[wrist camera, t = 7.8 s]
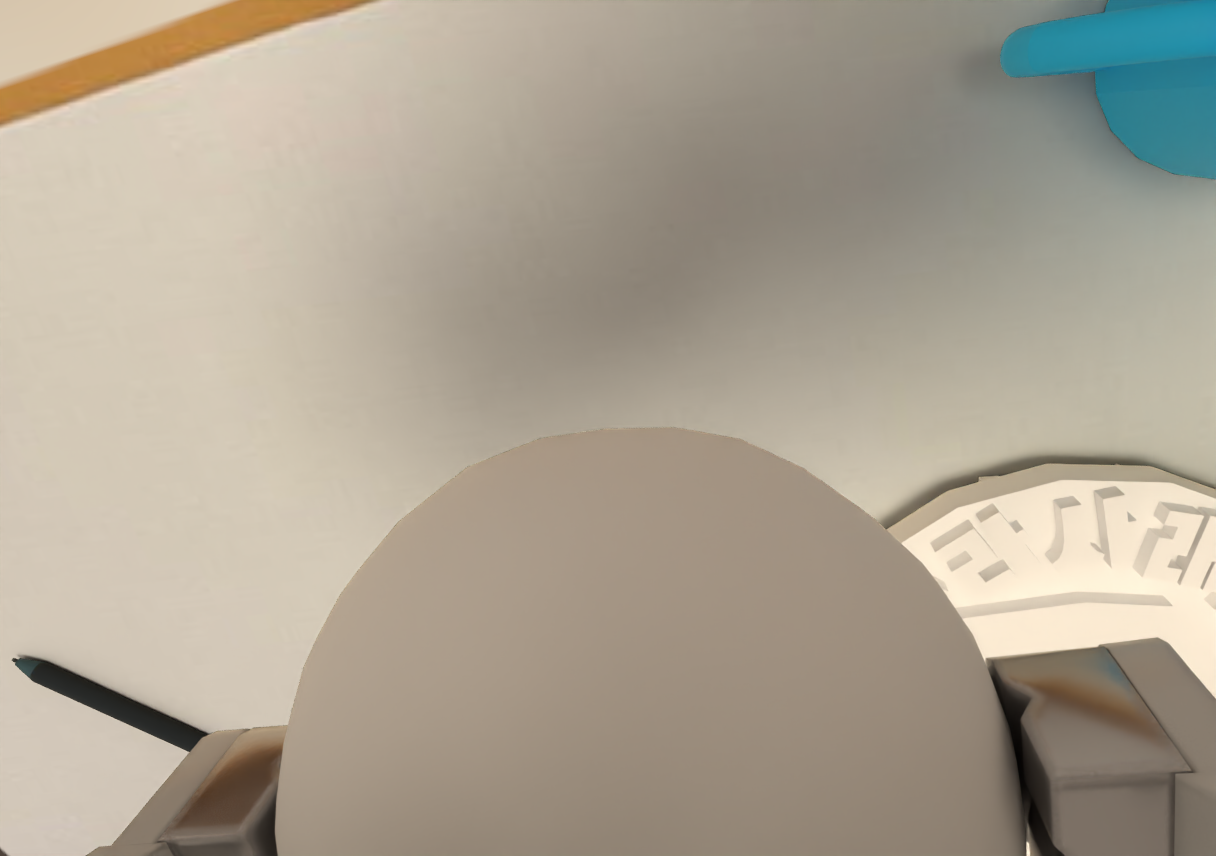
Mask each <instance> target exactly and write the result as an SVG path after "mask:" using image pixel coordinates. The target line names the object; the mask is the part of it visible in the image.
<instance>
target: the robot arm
mask: <svg viewBox="0 0 1216 856" xmlns="http://www.w3.org/2000/svg"><path fill="white" fill-rule="evenodd" d="M985 663H986V666H987V669H988V671H989V674H990V677H991V679H992V682H993V684H994V687H995V690H996V692H997V695H998V698H999V700H1000V703H1001V706H1002V708H1003V711H1004V714H1005V716H1006V719H1007V722H1008V724H1009V727H1010V731H1011V736H1012V741H1013V746H1014V750H1015V755H1016V760H1017V766H1018V774H1019V781H1020V788H1021V795H1022V802H1023V809H1024V816H1025V823H1026V839H1027V842H1028V843H1029V849H1030V856H1216V699H1215V697H1214V696H1213V695H1212V694H1211V693H1210V691H1209V690H1208V689H1207V688H1206V687H1205V686H1204V684H1203V683H1202V682H1201V681H1200V680H1199V678H1198V677H1197V676H1196V675H1195V674H1194V672H1193V671H1192V670H1191V669H1190V668H1189V666H1188V665H1187V664H1186V663H1185V662H1184V660H1183V659H1182V658H1181V657H1180V656H1179V654H1178V653H1177V652H1176V651H1175V650H1174V649H1173V647H1172V646H1171V645H1170V644H1169V643H1168V642H1166V641H1164V640H1162V639H1160V638H1158V637H1155V638H1147V639H1139V640H1131V641H1122V642H1114V643H1106V644H1099V645H1098V647H1085V648H1075V649H1065V650H1056V651H1046V652H1036V653H1027V654H1017V655H1007V656H998V657H988V658H986V659H985ZM287 728H288V725H283V726H269V727H255V728H252V729H237V730H224V731H216V732H214V733H212V734H209V735H207V736H205V737H203V738H201V739H200V741H199V742H198V743H197V744H196V745H195V747H194V748H193V749H192V750H191V751H190V753H189V754H188V755H187V756H186V757H185V759H184V760H183V761H182V762H181V763H180V765H179V766H178V767H177V768H176V769H175V770H174V772H173V773H172V774H171V775H170V776H169V778H168V779H167V780H166V781H165V782H164V784H163V785H162V786H161V787H160V788H159V790H158V791H157V792H156V793H155V794H154V796H153V797H152V798H151V799H150V800H149V801H148V803H147V804H146V805H145V806H144V807H143V809H142V810H141V811H140V812H139V813H138V815H137V816H136V817H135V818H134V819H133V821H132V822H131V823H130V824H129V825H128V827H127V828H126V829H125V830H124V831H123V832H122V834H121V835H120V836H119V837H118V838H117V840H116V841H115V842H114V843H113V844H112V846H103V847H98V848H97V849H95V850H94V851H92V852H91V853H89V854H88V855H86V856H278V853H277V846H276V838H275V818H276V798H277V790H278V782H279V775H280V767H281V759H282V751H283V744H284V740H285V736H286V732H287Z"/></svg>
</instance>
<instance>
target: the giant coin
mask: <svg viewBox="0 0 1216 856" xmlns="http://www.w3.org/2000/svg"><path fill="white" fill-rule="evenodd" d="M886 530H887V531H888V532H889V533H890V534H892V535H893V536H894V537H895V538H896V539H897V540H898V541H899V542H900V543H901V544H902V545H903V546H904V547H906V548H907V549H908V550H909V551H910V552H911V553H912V554H913V555H914V556H915V557H916V558H917V559H919V560H920V561H921V562H922V563H923V564H924V566H925V567H926V568H927V570H928V571H929V572H930V573H931V575H932V576H933V577H934V578H935V580H936V581H937V582H938V584H939V585H940V587H941V588H942V590H943V591H944V592H945V594H946V595H947V597H948V598H949V600H950V601H951V603H952V604H953V606H954V607H955V609H956V610H957V612H958V613H959V615H960V616H961V617H962V619H963V620H964V622H965V623H966V625H967V626H968V628H969V629H970V631H971V632H972V634H973V636H974V638H975V640H976V643H977V645H978V647H979V649H980V652H981V654H982V656H983V658H984V661H985V659H986V658H988V657H998V656H1007V655H1017V654H1027V653H1036V652H1046V651H1056V650H1065V649H1075V648H1085V647H1098V645H1099V644H1106V643H1114V642H1122V641H1131V640H1139V639H1147V638H1155V637H1158V638H1160V639H1162V640H1164V641H1166V642H1168V643H1169V644H1170V645H1171V646H1172V647H1173V649H1174V650H1175V651H1176V652H1177V653H1178V654H1179V656H1180V657H1181V658H1182V659H1183V660H1184V662H1185V663H1186V664H1187V665H1188V666H1189V668H1190V669H1191V670H1192V671H1193V672H1194V674H1195V675H1196V676H1197V677H1198V678H1199V680H1200V681H1201V682H1202V683H1203V684H1204V686H1205V687H1206V688H1207V689H1208V690H1209V691H1210V693H1211V694H1212V695H1213V696H1214V697H1215V699H1216V489H1213V488H1210V487H1207V486H1205V485H1202V484H1199V483H1196V482H1193V481H1191V480H1188V479H1185V478H1182V477H1180V476H1177V475H1174V474H1171V473H1168V472H1166V471H1163V470H1160V469H1157V468H1154V467H1152V466H1125V465H1118V464H1115V465H1084V464H1043V465H1039V466H1036V467H1032V468H1028V469H1025V470H1021V471H1018V472H1014V473H1010V474H1007V475H1003V476H999V477H998V476H985V477H978V482H977V483H974V484H970V485H967V486H963V487H959V488H956V489H952V490H948V491H946V492H945V493H943V494H942V495H940V496H938V497H937V498H935V499H934V500H932V501H931V502H929V503H927V504H926V505H924V506H923V507H921V508H920V509H918V510H916V511H915V512H913V513H912V514H910V515H909V516H907V517H905V518H904V519H902V520H901V521H899V522H898V523H896V524H894V525H893V526H891V527H890V528H888V529H886ZM1027 856H1030V849H1029V843H1028V842H1027Z"/></svg>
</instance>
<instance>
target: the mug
mask: <svg viewBox="0 0 1216 856" xmlns="http://www.w3.org/2000/svg"><path fill="white" fill-rule="evenodd" d="M1000 63H1001V66H1002V69H1003V71H1004V72H1005V73H1006V74H1007V75H1008V76H1010V77H1016V78H1017V77H1035V76H1048V75H1060V74H1072V73H1083V72H1094V71H1095V81H1096V95H1097V97H1098V100H1099V102H1100V105H1101V107H1102V110H1103V112H1104V115H1105V117H1106V119H1107V122H1108V124H1109V127H1110V129H1111V131H1112V132H1113V133H1114V134H1115V135H1116V136H1117V137H1118V138H1119V139H1120V140H1121V141H1122V142H1123V143H1124V144H1125V145H1126V146H1127V147H1128V148H1129V149H1130V151H1131V152H1132V153H1133V154H1134V155H1135V156H1136V157H1137V158H1139V159H1141V160H1143V161H1146V162H1148V163H1150V164H1152V165H1155V166H1157V167H1159V168H1161V169H1164V170H1166V171H1168V172H1170V173H1172V174H1177V175H1185V176H1194V177H1202V178H1210V179H1216V0H1109V1H1108V3H1107V5H1106V8H1105V12H1103V13H1096V14H1089V15H1083V16H1077V17H1071V18H1066V19H1060V20H1054V21H1048V22H1043V23H1039V24H1035V25H1030V26H1026V27H1023V28H1019V29H1018V30H1016V31H1015V32H1013V33H1012V34H1011V35H1009V37H1008V38H1007V39H1006V40H1005V42H1004V44H1003V46H1002V49H1001V54H1000Z"/></svg>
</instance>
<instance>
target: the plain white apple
mask: <svg viewBox="0 0 1216 856" xmlns="http://www.w3.org/2000/svg"><path fill="white" fill-rule="evenodd" d="M275 838H276V846H277V853H278V856H1027V839H1026V823H1025V816H1024V809H1023V802H1022V795H1021V788H1020V781H1019V774H1018V766H1017V760H1016V755H1015V750H1014V746H1013V741H1012V736H1011V731H1010V727H1009V724H1008V722H1007V719H1006V716H1005V714H1004V711H1003V708H1002V706H1001V703H1000V700H999V698H998V695H997V692H996V690H995V687H994V684H993V682H992V679H991V677H990V674H989V671H988V669H987V666H986V663H985V661H984V658H983V656H982V654H981V652H980V649H979V647H978V645H977V643H976V640H975V638H974V636H973V634H972V632H971V631H970V629H969V628H968V626H967V625H966V623H965V622H964V620H963V619H962V617H961V616H960V615H959V613H958V612H957V610H956V609H955V607H954V606H953V604H952V603H951V601H950V600H949V598H948V597H947V595H946V594H945V592H944V591H943V590H942V588H941V587H940V585H939V584H938V582H937V581H936V580H935V578H934V577H933V576H932V575H931V573H930V572H929V571H928V570H927V568H926V567H925V566H924V564H923V563H922V562H921V561H920V560H919V559H917V558H916V557H915V556H914V555H913V554H912V553H911V552H910V551H909V550H908V549H907V548H906V547H904V546H903V545H902V544H901V543H900V542H899V541H898V540H897V539H896V538H895V537H894V536H893V535H892V534H890V533H889V532H888V531H887V530H886V529H885V528H884V527H883V526H882V525H881V524H880V523H879V522H877V521H876V520H875V519H874V518H873V517H871V516H870V515H869V514H867V513H866V512H865V511H864V510H862V509H861V508H860V507H858V506H857V505H855V504H854V503H852V502H851V501H850V500H848V499H847V498H845V497H844V496H842V495H841V494H840V493H838V492H837V491H835V490H834V489H833V488H831V487H830V486H828V485H827V484H825V483H824V482H823V481H821V480H820V479H818V478H817V477H815V476H814V475H813V474H811V473H810V472H808V471H807V470H805V469H804V468H802V467H800V466H798V465H795V464H793V463H791V462H789V461H787V460H785V459H783V458H780V457H778V456H776V455H774V454H772V453H770V452H767V451H765V450H763V449H761V448H759V447H757V446H754V445H752V444H750V443H748V442H746V441H744V440H741V439H738V438H733V437H727V436H721V435H716V434H710V433H704V432H698V431H693V430H687V429H681V428H676V427H663V428H614V429H600V430H593V431H586V432H579V433H573V434H566V435H559V436H552V437H546V438H540V439H537V440H534V441H532V442H529V443H527V444H524V445H522V446H519V447H516V448H514V449H511V450H509V451H506V452H504V453H501V454H499V455H496V456H493V457H491V458H488V459H486V460H483V461H481V462H478V463H476V464H473V465H471V466H468V467H467V468H465V469H464V470H463V471H462V472H460V473H459V474H458V475H457V476H455V477H454V478H453V479H451V480H450V481H449V482H448V483H446V484H445V485H444V486H443V487H441V488H440V489H439V490H438V491H436V492H435V493H434V494H433V495H431V496H430V497H429V498H427V499H426V500H425V501H424V502H422V503H421V504H420V505H419V506H417V507H416V508H415V509H414V510H412V511H411V512H410V513H409V514H407V515H406V516H405V517H404V518H402V519H401V520H400V521H399V522H398V523H397V524H396V525H395V526H394V528H393V529H392V530H391V531H390V532H389V534H388V535H387V536H386V537H385V538H384V540H383V541H382V542H381V543H380V545H379V546H378V547H377V548H376V549H375V551H374V552H373V553H372V554H371V555H370V557H369V558H368V559H367V560H366V561H365V563H364V564H363V565H362V566H361V567H360V569H359V570H358V571H357V572H356V574H355V575H354V576H353V578H352V579H351V581H350V582H349V583H348V585H347V586H346V587H345V589H344V590H343V591H342V593H341V594H340V596H339V598H338V599H337V601H336V603H335V605H334V607H333V609H332V611H331V612H330V614H329V616H328V618H327V620H326V622H325V624H324V626H323V627H322V629H321V631H320V633H319V635H318V637H317V639H316V641H315V643H314V645H313V647H312V650H311V652H310V654H309V656H308V658H307V661H306V663H305V665H304V667H303V671H302V674H301V678H300V682H299V685H298V689H297V693H296V697H295V700H294V704H293V708H292V711H291V715H290V720H289V724H288V728H287V732H286V736H285V740H284V744H283V751H282V759H281V767H280V775H279V782H278V790H277V798H276V818H275Z"/></svg>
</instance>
